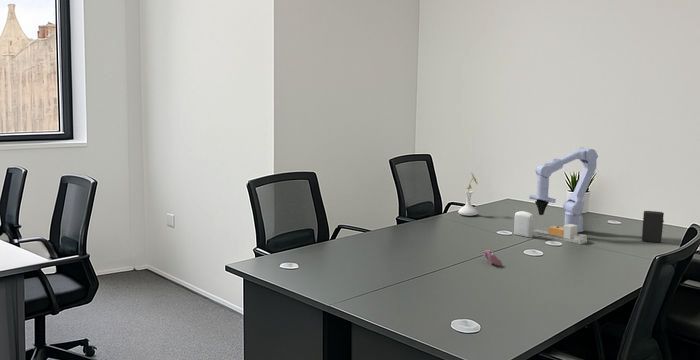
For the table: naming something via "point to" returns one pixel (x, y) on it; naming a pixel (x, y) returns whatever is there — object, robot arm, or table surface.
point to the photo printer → (523, 224)
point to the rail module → (569, 231)
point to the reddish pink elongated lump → (492, 257)
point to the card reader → (652, 226)
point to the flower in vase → (468, 202)
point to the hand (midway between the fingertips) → (541, 214)
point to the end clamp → (556, 231)
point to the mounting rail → (577, 238)
